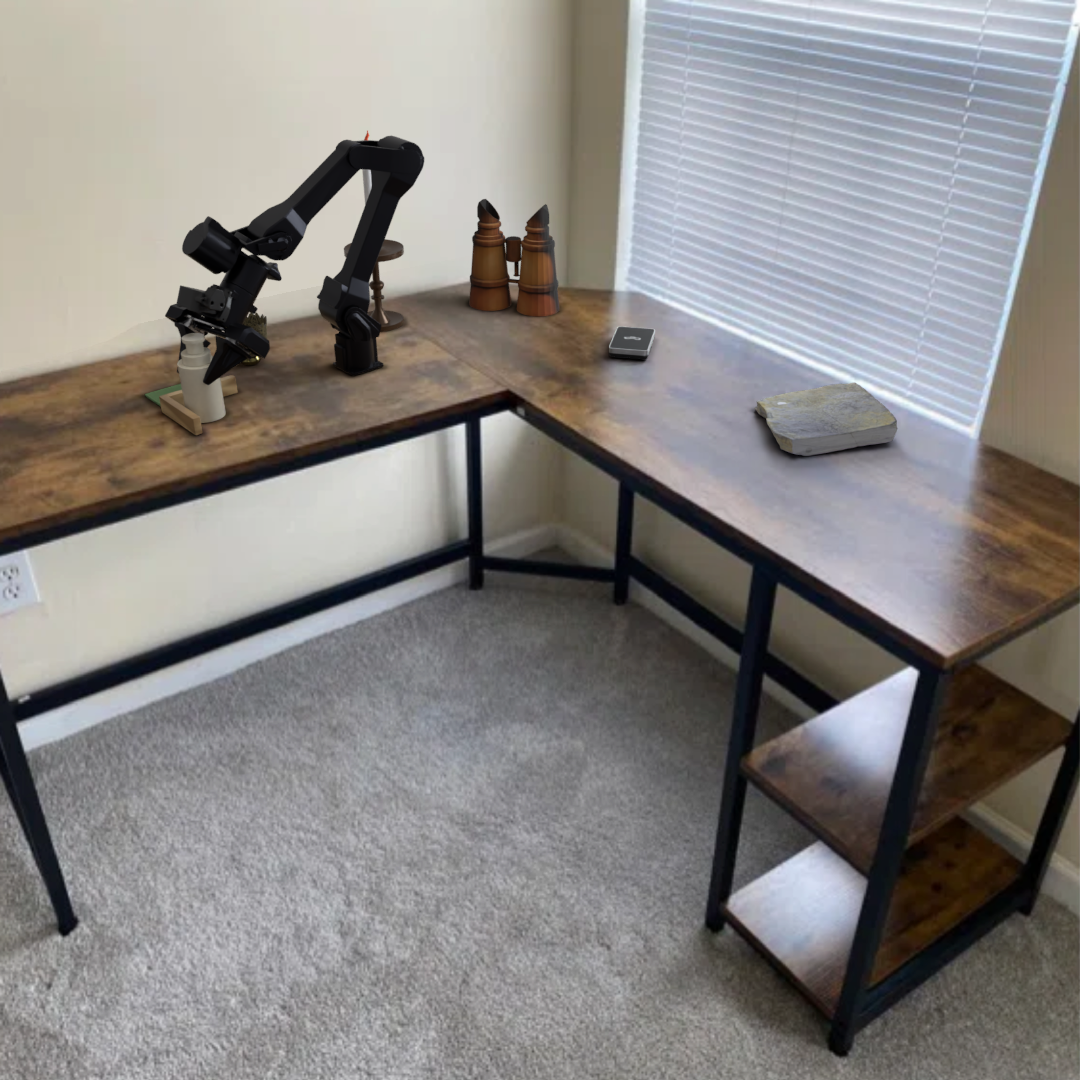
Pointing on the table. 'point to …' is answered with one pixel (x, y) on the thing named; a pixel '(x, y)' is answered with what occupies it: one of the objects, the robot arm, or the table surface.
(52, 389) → the table surface
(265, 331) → the cup
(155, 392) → the green cloth
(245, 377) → the table surface
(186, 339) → the lidded jar
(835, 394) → the grey stone slab
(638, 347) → the external hard drive
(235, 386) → the corner rails
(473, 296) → the binoculars
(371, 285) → the candlestick
